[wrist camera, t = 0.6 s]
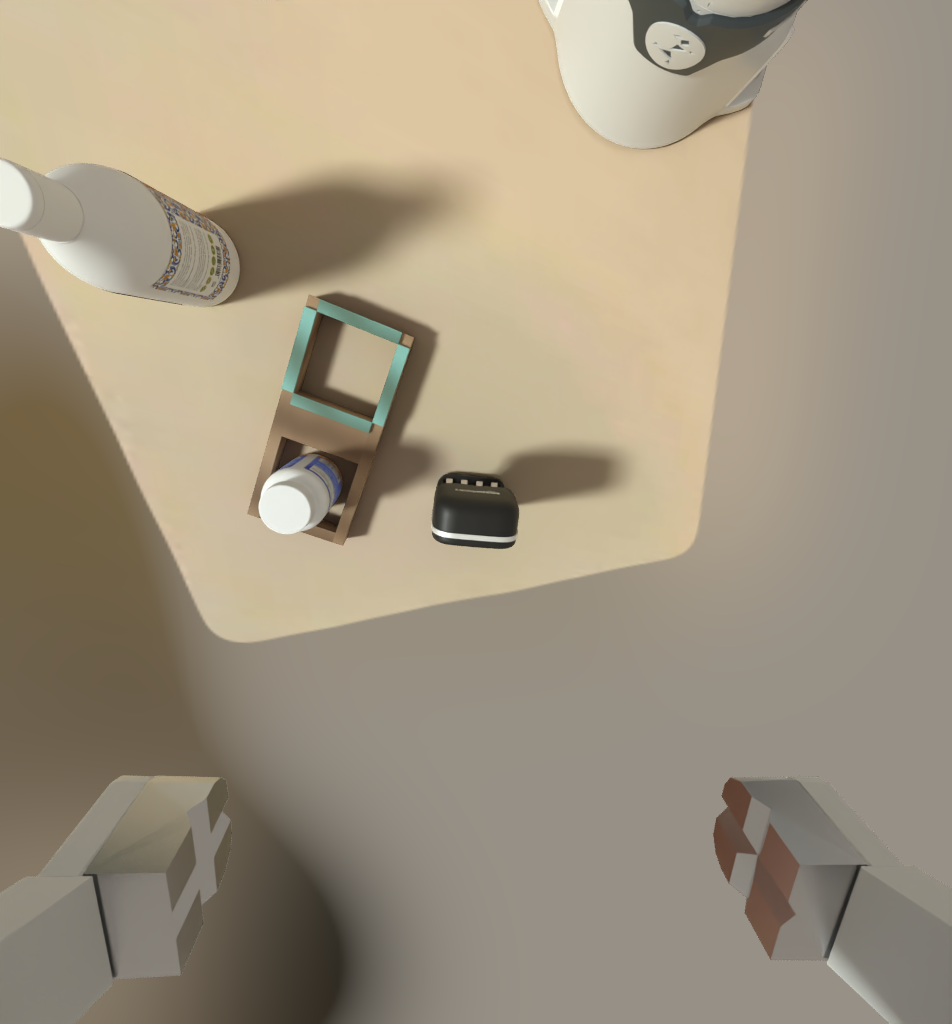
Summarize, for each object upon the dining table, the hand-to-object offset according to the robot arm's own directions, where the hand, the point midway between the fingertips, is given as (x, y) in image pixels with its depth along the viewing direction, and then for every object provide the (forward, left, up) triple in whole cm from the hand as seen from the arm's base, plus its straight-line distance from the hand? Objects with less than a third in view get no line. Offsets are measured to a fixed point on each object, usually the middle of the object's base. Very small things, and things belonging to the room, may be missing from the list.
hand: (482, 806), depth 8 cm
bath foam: (-5, -24, -42) cm, 49 cm away
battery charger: (+4, +4, -42) cm, 42 cm away
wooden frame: (+4, -10, -42) cm, 43 cm away
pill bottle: (+9, -10, -42) cm, 44 cm away
